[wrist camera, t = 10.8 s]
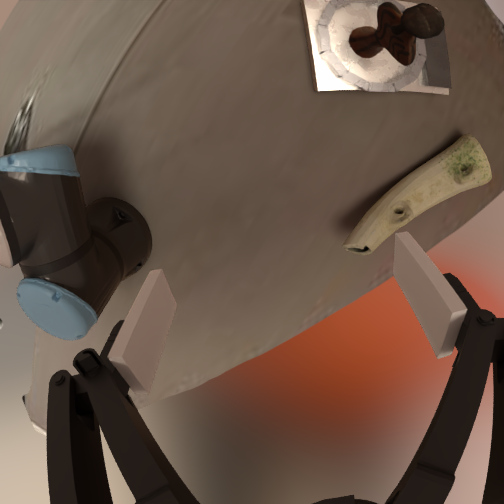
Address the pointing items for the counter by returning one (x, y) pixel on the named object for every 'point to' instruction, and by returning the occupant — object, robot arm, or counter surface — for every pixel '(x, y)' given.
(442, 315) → the robot arm
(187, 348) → the counter surface
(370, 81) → the white flat device
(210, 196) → the counter surface
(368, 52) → the figurine
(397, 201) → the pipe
